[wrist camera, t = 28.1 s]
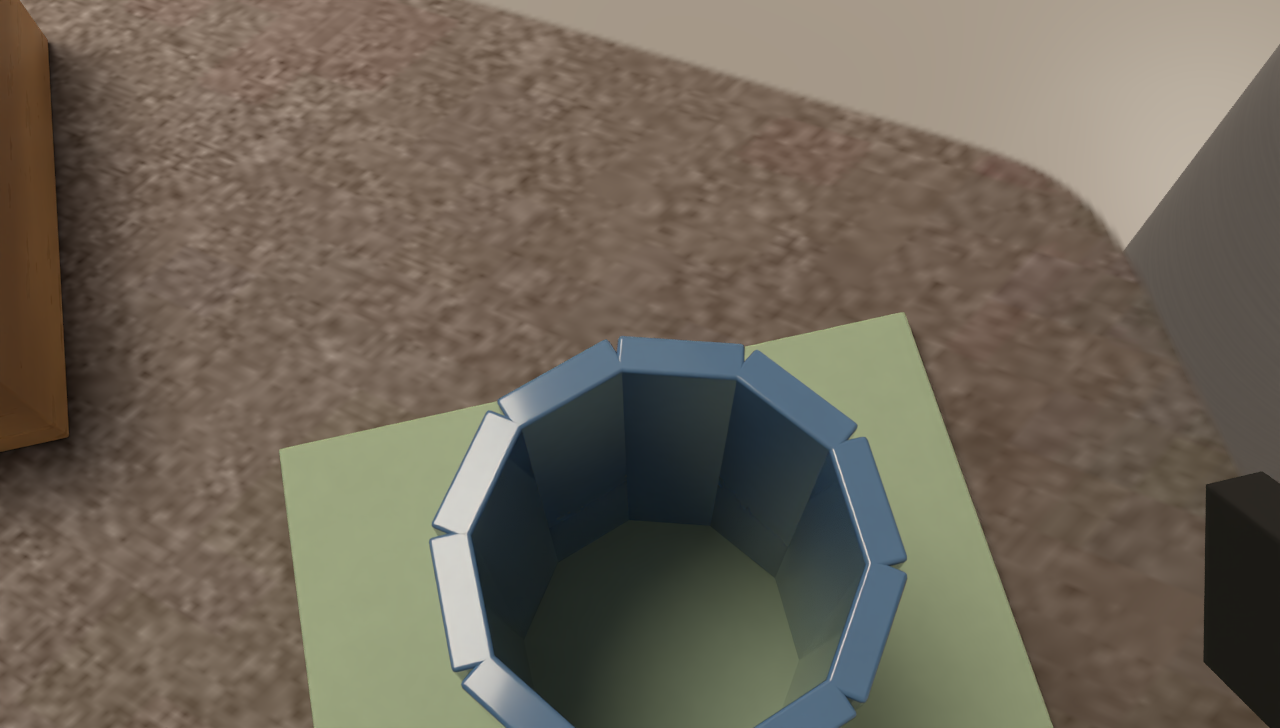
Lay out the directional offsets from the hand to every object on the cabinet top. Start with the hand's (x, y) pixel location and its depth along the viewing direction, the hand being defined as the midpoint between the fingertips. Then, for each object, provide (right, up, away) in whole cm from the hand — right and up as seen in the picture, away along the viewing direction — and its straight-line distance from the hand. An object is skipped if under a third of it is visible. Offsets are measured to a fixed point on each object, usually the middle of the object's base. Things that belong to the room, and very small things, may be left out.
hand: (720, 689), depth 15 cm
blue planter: (-1, -2, +9) cm, 9 cm away
